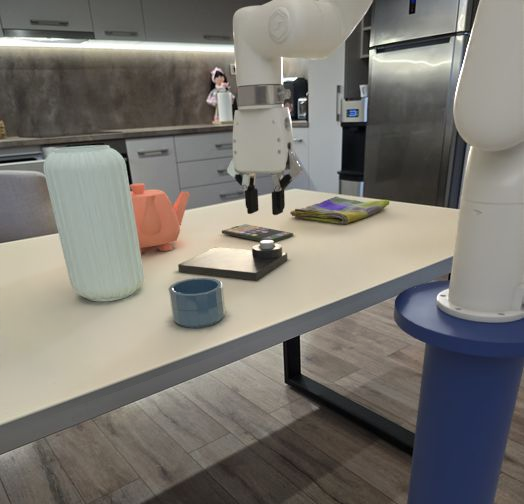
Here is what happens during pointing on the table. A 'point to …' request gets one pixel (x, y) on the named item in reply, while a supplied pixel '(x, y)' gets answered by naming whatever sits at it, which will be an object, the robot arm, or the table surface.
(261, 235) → the smartphone
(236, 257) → the scale
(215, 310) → the bowl
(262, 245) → the button
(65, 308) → the table surface
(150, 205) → the teapot
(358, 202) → the dish towel
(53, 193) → the vase
